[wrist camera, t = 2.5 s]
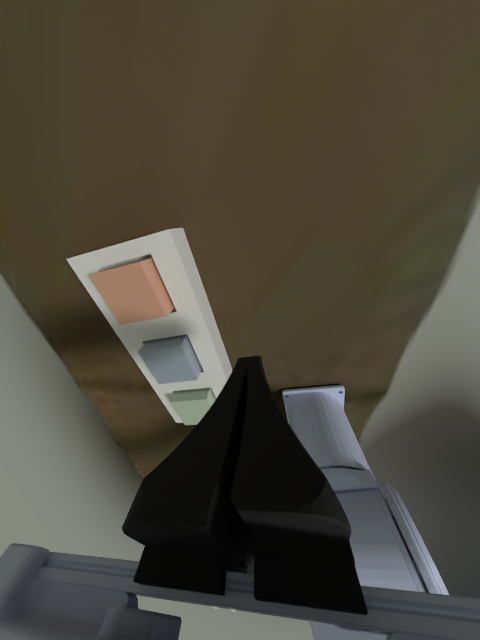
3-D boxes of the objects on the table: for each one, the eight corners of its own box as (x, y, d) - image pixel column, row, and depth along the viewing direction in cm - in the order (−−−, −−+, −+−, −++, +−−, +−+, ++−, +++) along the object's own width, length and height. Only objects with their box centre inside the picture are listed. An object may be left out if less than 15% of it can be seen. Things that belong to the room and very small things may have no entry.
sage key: (221, 409, 25) (218, 423, 23) (189, 411, 26) (184, 425, 24) (210, 385, 23) (206, 399, 21) (176, 388, 24) (170, 402, 22)
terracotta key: (175, 306, 17) (166, 316, 16) (133, 315, 18) (120, 325, 17) (153, 257, 15) (139, 261, 14) (106, 269, 16) (88, 275, 14)
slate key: (202, 366, 21) (197, 380, 19) (166, 371, 22) (158, 384, 20) (187, 333, 19) (180, 345, 17) (148, 340, 20) (137, 351, 18)
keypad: (243, 401, 27) (241, 419, 25) (183, 405, 29) (176, 422, 26) (182, 227, 16) (169, 229, 13) (92, 253, 18) (66, 259, 15)
